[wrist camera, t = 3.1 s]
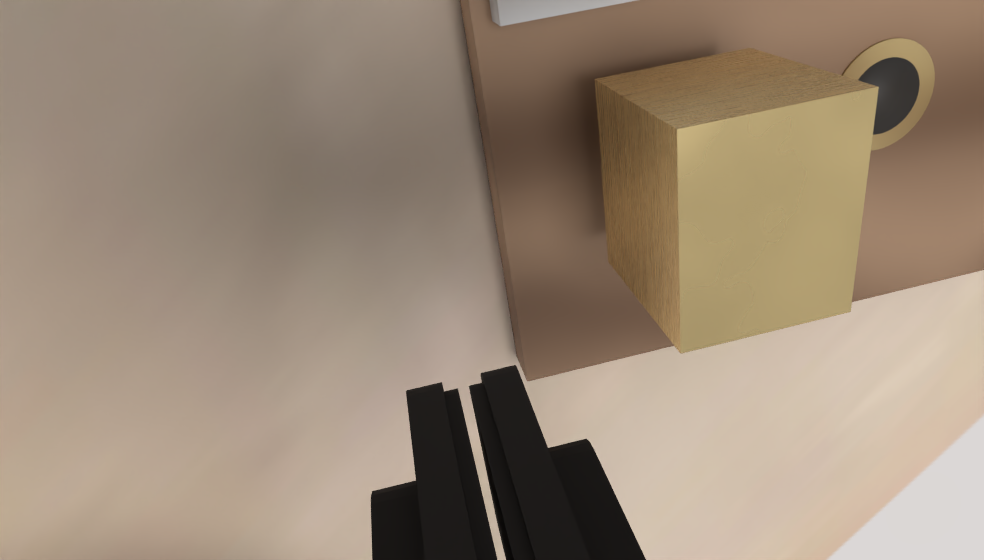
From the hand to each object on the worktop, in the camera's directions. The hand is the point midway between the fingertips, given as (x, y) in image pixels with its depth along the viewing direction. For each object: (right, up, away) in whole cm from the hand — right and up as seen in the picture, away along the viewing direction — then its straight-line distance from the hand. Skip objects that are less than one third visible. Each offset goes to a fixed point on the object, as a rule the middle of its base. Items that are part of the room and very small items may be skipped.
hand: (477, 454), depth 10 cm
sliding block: (+5, +6, +8) cm, 12 cm away
